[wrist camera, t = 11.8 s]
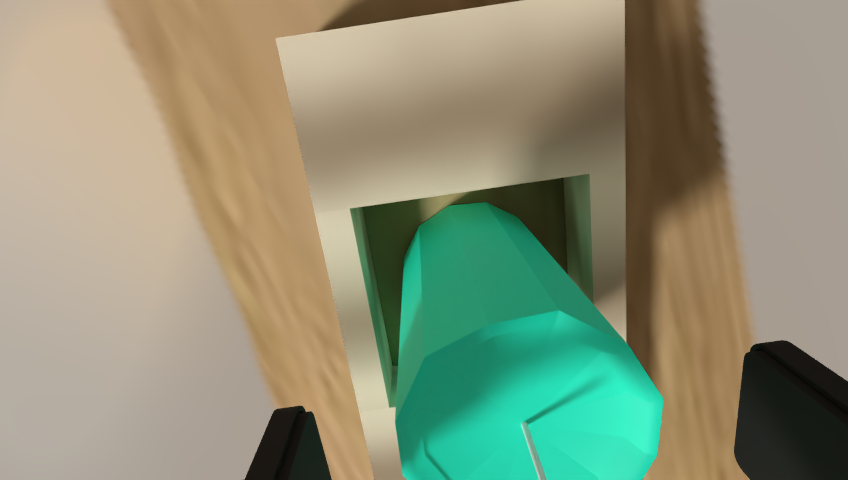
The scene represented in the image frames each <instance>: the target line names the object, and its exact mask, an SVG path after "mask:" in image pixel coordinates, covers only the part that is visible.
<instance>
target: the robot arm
mask: <svg viewBox="0 0 848 480" xmlns="http://www.w3.org/2000/svg"><path fill="white" fill-rule="evenodd" d="M734 454H735V458H736V461H737V463H738V465H739V467H740V468H741V469H742V471H743V472H744V473H745V474H746V475H747V476H748V478H749V479H750V480H848V381H846V380H845V379H843V378H842V377H840V376H839V375H837V374H836V373H834V372H833V371H831V370H830V369H829V368H827V367H826V366H824V365H823V364H821V363H820V362H818V361H817V360H815V359H814V358H812V357H811V356H809V355H808V354H807V353H805V352H804V351H802V350H801V349H799V348H798V347H796V346H795V345H793V344H792V343H790V342H788V341H783V340H781V341H774V342H766V343H759V344H755V345H753V346H752V347H751V349H750V352H748V353H746V354H745V356H744V362H743V372H742V381H741V390H740V400H739V409H738V418H737V427H736V437H735V446H734ZM245 480H332V479H331V476H330V472H329V468H328V465H327V461H326V457H325V454H324V450H323V446H322V443H321V439H320V435H319V432H318V428H317V424H316V421H315V417H314V414H313V413H312V412H311V411H310V412H306V411H305V409H304V407H303V406H295V407H288V408H281V409H276V410H274V412H273V414H272V416H271V419H270V421H269V423H268V426H267V428H266V430H265V433H264V435H263V437H262V440H261V442H260V445H259V447H258V449H257V452H256V454H255V457H254V459H253V461H252V464H251V466H250V468H249V471H248V473H247V475H246V478H245Z"/></svg>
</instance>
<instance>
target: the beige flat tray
mask: <svg viewBox="0 0 848 480" xmlns="http://www.w3.org/2000/svg"><path fill="white" fill-rule="evenodd" d="M276 43H277V47H278V52H279V56H280V61H281V65H282V70H283V74H284V78H285V83H286V87H287V92H288V96H289V101H290V105H291V110H292V114H293V119H294V123H295V127H296V132H297V136H298V141H299V145H300V150H301V154H302V159H303V163H304V168H305V172H306V177H307V181H308V185H309V190H310V194H311V199H312V203H313V208H314V212H315V217H316V221H317V226H318V230H319V235H320V239H321V243H322V248H323V252H324V257H325V261H326V266H327V270H328V275H329V279H330V284H331V288H332V292H333V297H334V301H335V306H336V310H337V315H338V319H339V324H340V328H341V333H342V337H343V342H344V346H345V350H346V355H347V359H348V364H349V368H350V373H351V377H352V382H353V386H354V391H355V395H356V399H357V404H358V408H359V413H360V417H361V422H362V426H363V431H364V435H365V440H366V444H367V449H368V453H369V457H370V462H371V466H372V471H373V475H374V480H407V479H406V478H405V477H404V476H403V475H402V468H401V461H400V454H399V447H398V440H397V433H396V426H395V412H396V395H397V377H398V365H397V366H392V361H391V356H390V350H389V345H388V340H387V335H386V329H385V324H384V319H383V313H382V308H381V303H380V298H379V292H378V287H377V282H376V277H375V271H374V266H373V261H372V256H371V250H370V245H369V240H368V234H367V229H366V224H365V219H364V213H363V208H362V207H364V206H371V205H378V204H385V203H392V202H399V201H406V200H413V199H419V198H426V197H433V196H440V195H447V194H454V193H461V192H468V191H475V190H481V189H488V188H495V187H502V186H509V185H516V184H523V183H530V182H537V181H544V180H550V179H557V178H563V181H564V202H565V223H566V244H567V265H568V276H569V277H570V278H571V279H572V280H573V281H574V283H575V284H576V285H577V286H578V287H579V288H580V290H581V291H582V292H583V293H584V294H585V295H586V297H587V298H588V299H589V300H590V301H591V302H592V303H593V305H594V306H595V307H596V308H597V309H598V310H599V312H600V313H601V314H602V315H603V316H604V317H605V318H606V320H607V321H608V322H609V323H610V324H611V325H612V327H613V328H614V329H615V330H616V331H617V332H618V334H619V335H620V336H621V337H622V338H623V339H624V340H625V342H626V159H625V0H522V1H515V2H509V3H502V4H496V5H489V6H483V7H476V8H470V9H463V10H457V11H450V12H444V13H437V14H431V15H424V16H418V17H411V18H405V19H398V20H392V21H385V22H379V23H372V24H366V25H359V26H353V27H346V28H340V29H333V30H327V31H320V32H314V33H307V34H301V35H294V36H288V37H281V38H276Z"/></svg>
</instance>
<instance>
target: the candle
mask: <svg viewBox="0 0 848 480" xmlns="http://www.w3.org/2000/svg"><path fill="white" fill-rule="evenodd" d="M663 400H664V399H663V397H662V396H661V394H660V393H659V391H658V390H657V388H656V387H655V385H654V383H653V382H652V380H651V379H650V377H649V376H648V374H647V373H646V371H645V370H644V368H643V366H642V365H641V363H640V362H639V360H638V359H637V357H636V356H635V354H634V353H633V351H632V350H631V348H630V346H629V345H628V344H627V343H626V342H625V340H624V339H623V338H622V337H621V336H620V335H619V334H618V332H617V331H616V330H615V329H614V328H613V327H612V325H611V324H610V323H609V322H608V321H607V320H606V318H605V317H604V316H603V315H602V314H601V313H600V312H599V310H598V309H597V308H596V307H595V306H594V305H593V303H592V302H591V301H590V300H589V299H588V298H587V297H586V295H585V294H584V293H583V292H582V291H581V290H580V288H579V287H578V286H577V285H576V284H575V283H574V281H573V280H572V279H571V278H570V277H569V276H568V275H567V273H566V272H565V271H564V270H563V269H562V268H561V266H560V265H559V264H558V263H557V262H556V261H555V260H554V258H553V257H552V256H551V255H550V254H549V253H548V251H547V250H546V249H545V248H544V247H543V246H542V244H541V243H540V242H539V241H538V240H537V239H536V238H535V236H534V235H533V234H532V233H531V232H530V231H529V229H528V228H527V227H526V226H525V225H524V224H523V223H522V221H521V220H520V219H519V218H518V217H517V216H515V215H512V214H510V213H508V212H506V211H504V210H502V209H499V208H497V207H495V206H493V205H491V204H488V203H486V202H481V203H471V204H460V205H449V206H447V207H446V208H445V209H443V210H442V211H440V212H439V213H437V214H436V215H434V216H433V217H431V218H430V219H428V220H427V221H426V222H424V223H423V224H421V225H420V226H419V227H418V229H417V231H416V233H415V235H414V237H413V240H412V242H411V244H410V246H409V248H408V250H407V252H406V254H405V256H404V269H403V287H402V305H401V323H400V341H399V359H398V377H397V395H396V412H395V426H396V433H397V440H398V447H399V454H400V461H401V468H402V475H403V476H404V477H405V478H406V479H407V480H642V479H643V478H644V476H645V474H646V473H647V471H648V469H649V468H650V466H651V464H652V463H653V461H654V460H655V458H656V456H657V453H658V445H659V436H660V427H661V418H662V409H663Z"/></svg>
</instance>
